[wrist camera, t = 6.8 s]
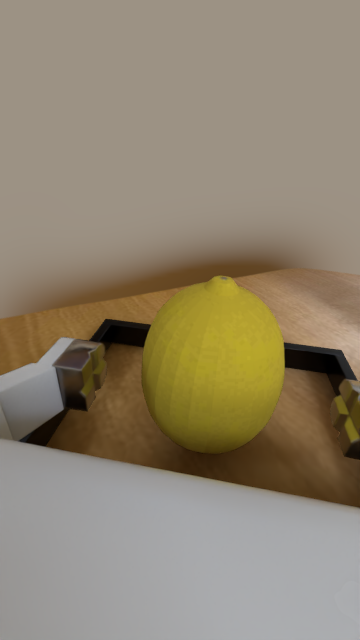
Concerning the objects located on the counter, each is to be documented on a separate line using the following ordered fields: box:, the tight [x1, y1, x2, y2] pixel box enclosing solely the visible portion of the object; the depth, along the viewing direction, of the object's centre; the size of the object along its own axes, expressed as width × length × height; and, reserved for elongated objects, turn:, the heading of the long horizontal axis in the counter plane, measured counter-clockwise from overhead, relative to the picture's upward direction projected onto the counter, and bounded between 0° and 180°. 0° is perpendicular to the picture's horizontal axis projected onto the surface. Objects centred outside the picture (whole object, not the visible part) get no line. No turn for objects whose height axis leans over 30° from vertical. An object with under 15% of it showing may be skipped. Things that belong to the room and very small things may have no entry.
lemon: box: [141, 276, 285, 454], centre depth 12 cm, size 6×6×8 cm
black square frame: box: [18, 319, 358, 447], centre depth 13 cm, size 15×13×2 cm
